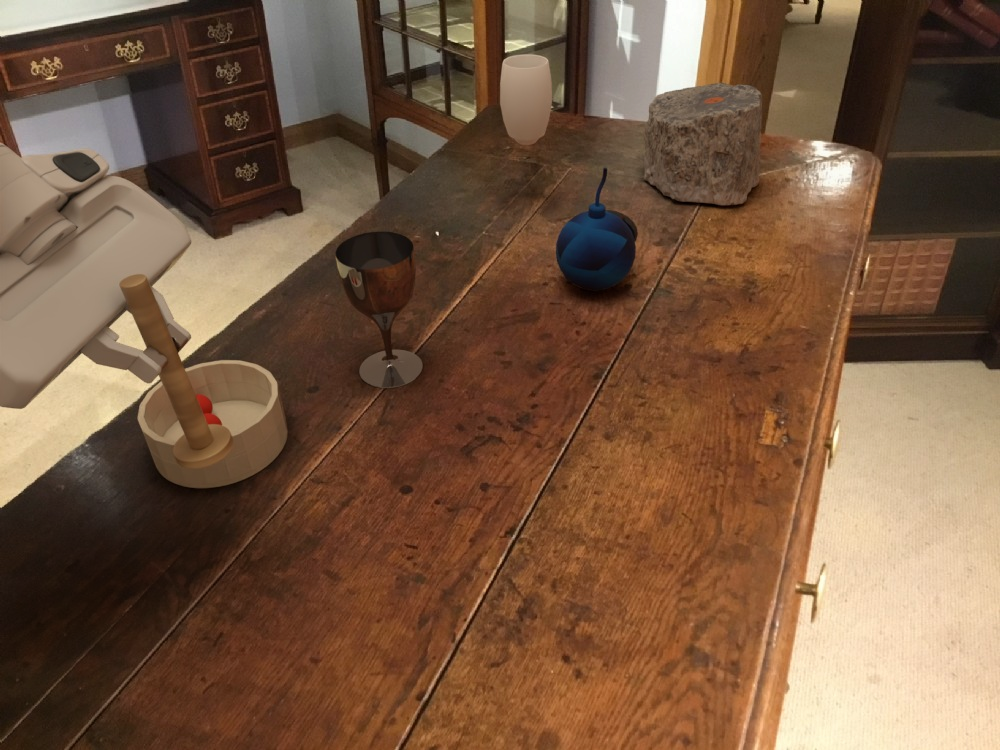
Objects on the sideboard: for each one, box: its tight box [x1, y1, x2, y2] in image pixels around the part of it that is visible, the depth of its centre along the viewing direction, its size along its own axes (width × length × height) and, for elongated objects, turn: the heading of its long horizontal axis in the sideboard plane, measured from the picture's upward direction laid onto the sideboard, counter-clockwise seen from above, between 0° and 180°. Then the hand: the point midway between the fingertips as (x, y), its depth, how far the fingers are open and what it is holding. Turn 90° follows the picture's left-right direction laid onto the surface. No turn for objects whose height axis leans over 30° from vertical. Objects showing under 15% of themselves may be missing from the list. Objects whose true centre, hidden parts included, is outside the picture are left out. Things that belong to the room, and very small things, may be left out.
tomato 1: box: [196, 394, 213, 414], centre depth 88 cm, size 3×3×3 cm
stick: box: [119, 274, 233, 469], centre depth 61 cm, size 4×4×15 cm
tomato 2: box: [204, 413, 222, 425], centre depth 85 cm, size 3×3×3 cm
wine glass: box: [335, 231, 424, 389], centre depth 91 cm, size 8×8×15 cm
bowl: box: [137, 359, 289, 489], centre depth 85 cm, size 13×13×6 cm
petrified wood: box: [643, 82, 763, 206], centre depth 126 cm, size 19×17×15 cm
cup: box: [499, 53, 553, 146], centre depth 121 cm, size 7×7×21 cm
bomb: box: [555, 167, 639, 292], centre depth 104 cm, size 10×11×15 cm
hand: (172, 360), depth 61 cm, fingers closed on stick, 2 cm apart
